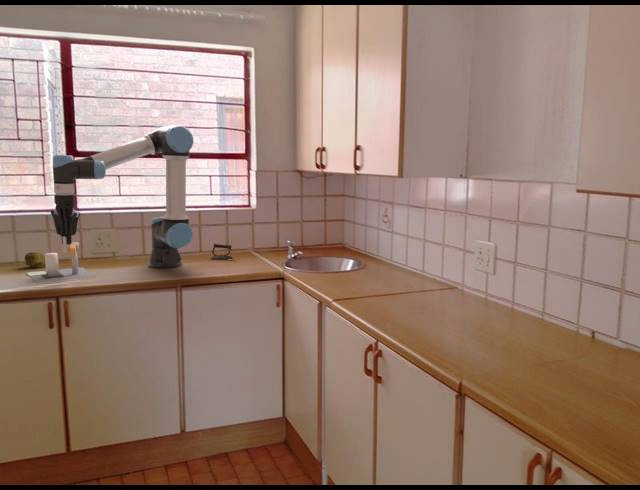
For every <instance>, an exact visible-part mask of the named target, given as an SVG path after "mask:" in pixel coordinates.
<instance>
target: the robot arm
mask: <svg viewBox="0 0 640 490" xmlns="http://www.w3.org/2000/svg"><path fill="white" fill-rule="evenodd" d="M193 145H194V136H193V133H192V132H191V131H190V130H189V129H188V128H187V127H186V126H183V125H180V124H179V125H178V124H173V125H166V126H165V125H164V126H162V127H159V128H157V129H155V130H153V131H152V132H148V133H146V134H144V135H143V137H142V138H138V139H135V140H132V141H130V142H127V143H124V144H122V145H118V146H116V147H112V148H110V149H107V150H105V151H102V152H98V153H96V154H93V155H92V154H91V155H90V156H87V157H83V158H82V159H81V158H80V159H74V156H73V155H69V154H68V155H67V154H66V155H65V154H56V155H54V156H53V157H52V174H53V175H52V176H53V193H54V195H53V199H54V204H55V208H54V210H50V214H51V216H52V218H53V219H52V220H53V222H54V228H55V231H56V234H57V235H58V236H59V235H60V237H61V244H62V250H63V254H67V253H70V247H71V245H70V244H71V243H72V242H73V241H72V236H75V235H76V233H77V228H78V223H79V222H78V221H79V218H80V216H81V212H79V211H77V210H76V208H75V203H76V195H75V191H76V190H75V189H76V188H75V180H102V179H105V176H106V170H108V169H111V168H114V167H117V166H120V165H122V164H125V163H128V162H131V161H133V160H136V159H140V158H142V157H145V156H147V155H152V156H154V155H156V154H157V155H158V154H162V157H163V158H164V159H165V214H164V216H159V217H153V218H152V219H151V220H150V221H151V223H150V228H151V229H150V230H151V248H152V249H151V251H150V256H149V259H148V266H149V267H151V268H156V269H157V268H159V269H161V268H163V269H165V268H176V267H179V266H182V264H183V261H182V256H181V254H180V252H179V249H182V248H183V249H184V248H185V247H187V246H188V245H190V243H191V242H192V240H193V237H194V234H193V229H192V228H191V226H190V217H189V216H188V215H187V213H186V211H187V210H186V207H187V204H186V202H187V201H186V198H187V197H186V194H187V189H186V186H187V184H186V183H187V180H186V179H187V178H186V177H187V172H186V171H187V170H186V168H187V167H186V166H187V160H188V159H190V150H191V149H192V147H193Z"/></svg>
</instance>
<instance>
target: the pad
mask: <svg viewBox="0 0 640 490" xmlns="http://www.w3.org/2000/svg"><path fill="white" fill-rule="evenodd" d="M45 271H46V270H41V271H31V272H30V271H29V272H26V273H27V274H26V275H27V276H28V277H29V278H30V277H32V276H42V274H46V272H45Z"/></svg>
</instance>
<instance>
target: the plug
mask: <svg viewBox="0 0 640 490" xmlns="http://www.w3.org/2000/svg"><path fill="white" fill-rule="evenodd" d="M44 255H45V264H46V267H45V271H46V276H57V275H59V270H60V269H59V255H58V252H46V253H44Z"/></svg>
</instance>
